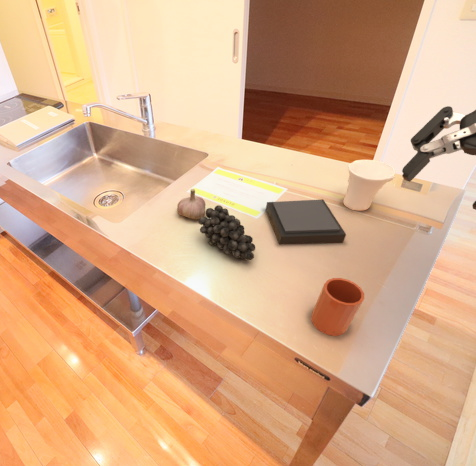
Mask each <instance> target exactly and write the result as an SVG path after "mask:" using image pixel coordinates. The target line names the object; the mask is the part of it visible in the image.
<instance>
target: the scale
mask: <svg viewBox="0 0 476 466" xmlns="http://www.w3.org/2000/svg"><path fill="white" fill-rule="evenodd" d="M265 213H266V214H267V217H268V220H269V222H270V224H271V227H272V229H273V232H274V235H275V237H276V239H277V242H278V244H279V245H303V244H305V245H306V244H307V245H308V244H311V245H312V244H339V243H344V241H345V238H346V236H347V234H346V232H345V229H344V228H343V227H342V225H341V224H340V223H339V221H338V220H337V218H336V216H335V215H334V213H333V212H332V210H331V209H330V207H329V206H328V204H327V203H326V202H325V200H324V199H306V200H305V199H304V200H284V201H283V200H282V201H267V202H266V206H265Z"/></svg>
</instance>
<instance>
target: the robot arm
mask: <svg viewBox="0 0 476 466" xmlns="http://www.w3.org/2000/svg"><path fill="white" fill-rule="evenodd" d="M455 125H459V130H455V131H452V132H450V133H448V134H444V135H443V136H441V138H438V139H436V140H434V139H435V138H436V137H437V136H438V135H439V134H440V133H442V131H443V130H444V129H446V130H447V129H450V128H451V127H453V126H455ZM410 143H411V146H412V149H413V150H414V151H415V152H416V154H415V155H414V156H412V158H411V159H410V160H409V161H408V162H407V163H406V164H405V165H404V167H402V170H401V172H402V178H403V180H404V181H406V182H412V180H414V178H416V176H418V175H419V174H420V173H421V171H422V170H424V168H425V167H426V166H428V164H430V162H431V159H434V158H436V157H439V156H443V155H445V154H446V155H450V154H453V153H456V152H459V151H463V153H464V154H466V155H470V156H476V109H475V110H473V111H471V112H469V113H467V114H463V113H460V112H456V111H454V110H453V107H452V106H451V105H450V106H448V105H447V106H444V107H442V108H441V109H440V110H439V111H438V112H437V113H435V115H433V117H432V118H431V119H430V120H429V121H428V122H426V123H425V124H424V125H423V127H421V128H420V129H419V130H418V131H417V132H416V133H415V134H414V135H413V136H412V137H411V138H410ZM471 206H472V209H473V210H475V211H476V200H475V201H474V202H473V203H472V205H471Z"/></svg>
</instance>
